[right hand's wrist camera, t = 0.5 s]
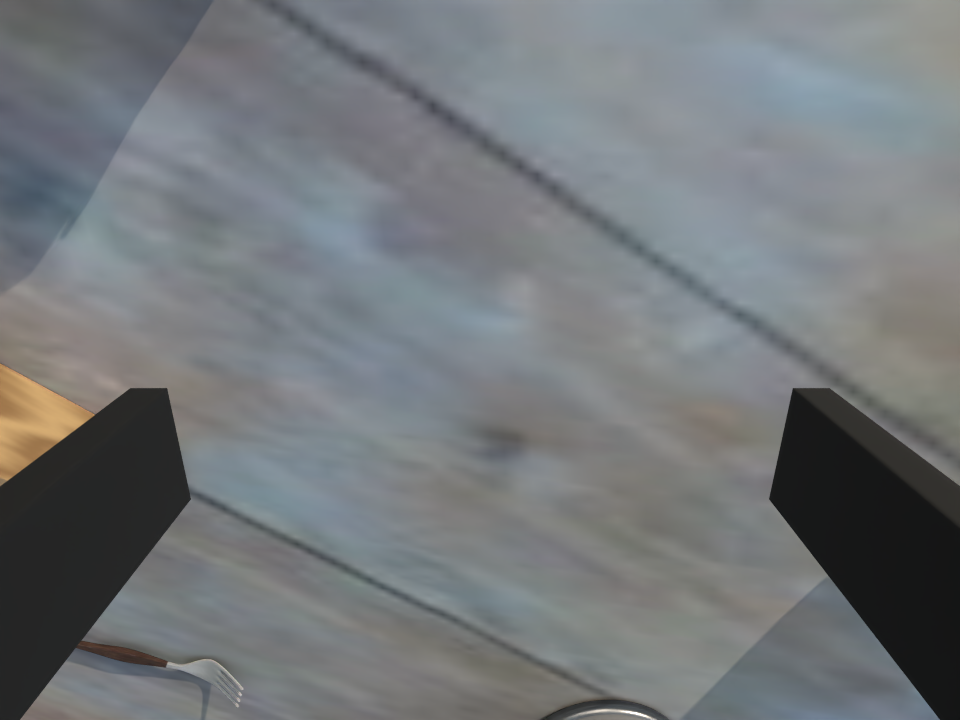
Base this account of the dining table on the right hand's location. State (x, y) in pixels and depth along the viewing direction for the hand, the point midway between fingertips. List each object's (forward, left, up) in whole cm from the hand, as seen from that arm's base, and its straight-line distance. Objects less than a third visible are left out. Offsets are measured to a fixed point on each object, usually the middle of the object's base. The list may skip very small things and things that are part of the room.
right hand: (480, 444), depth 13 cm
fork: (-38, +24, -27) cm, 52 cm away
